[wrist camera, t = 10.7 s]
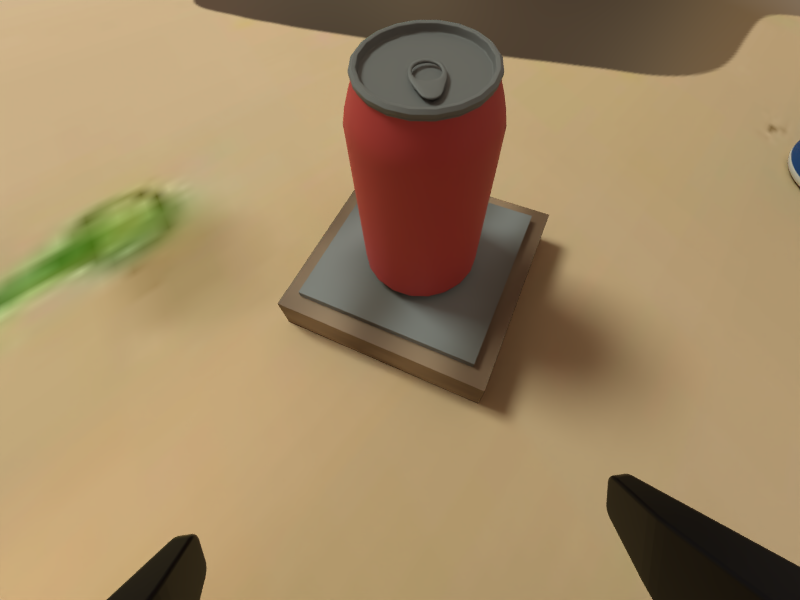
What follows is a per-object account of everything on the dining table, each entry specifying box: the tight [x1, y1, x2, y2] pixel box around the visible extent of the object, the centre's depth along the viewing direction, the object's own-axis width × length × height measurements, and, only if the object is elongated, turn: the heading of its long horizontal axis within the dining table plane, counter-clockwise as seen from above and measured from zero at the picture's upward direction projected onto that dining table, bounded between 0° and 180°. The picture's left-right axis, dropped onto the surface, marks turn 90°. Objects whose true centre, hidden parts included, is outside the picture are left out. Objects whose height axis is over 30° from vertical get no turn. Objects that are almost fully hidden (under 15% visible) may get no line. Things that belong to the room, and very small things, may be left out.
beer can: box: [343, 20, 506, 296], centre depth 19 cm, size 7×7×12 cm
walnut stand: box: [278, 190, 549, 403], centre depth 26 cm, size 13×13×3 cm
